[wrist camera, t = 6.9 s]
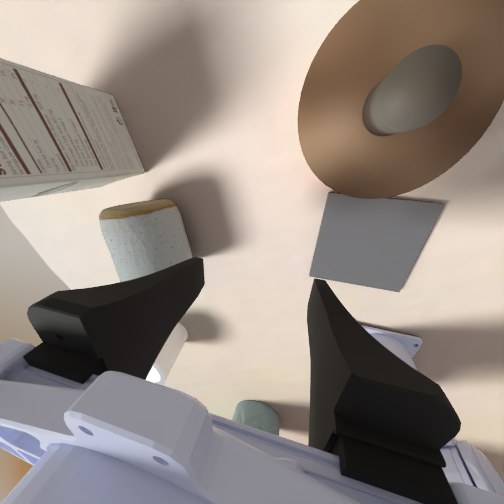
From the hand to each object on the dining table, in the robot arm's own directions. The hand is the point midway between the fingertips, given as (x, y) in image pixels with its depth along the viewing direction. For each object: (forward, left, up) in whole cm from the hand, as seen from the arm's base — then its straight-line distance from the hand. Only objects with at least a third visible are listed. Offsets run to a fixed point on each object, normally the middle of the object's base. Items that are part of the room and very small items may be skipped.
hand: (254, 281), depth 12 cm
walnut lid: (+10, -6, -5) cm, 13 cm away
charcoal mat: (0, -9, -9) cm, 13 cm away
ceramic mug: (-2, +14, -10) cm, 17 cm away
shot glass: (-20, +15, -10) cm, 27 cm away
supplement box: (+7, +19, -10) cm, 22 cm away
